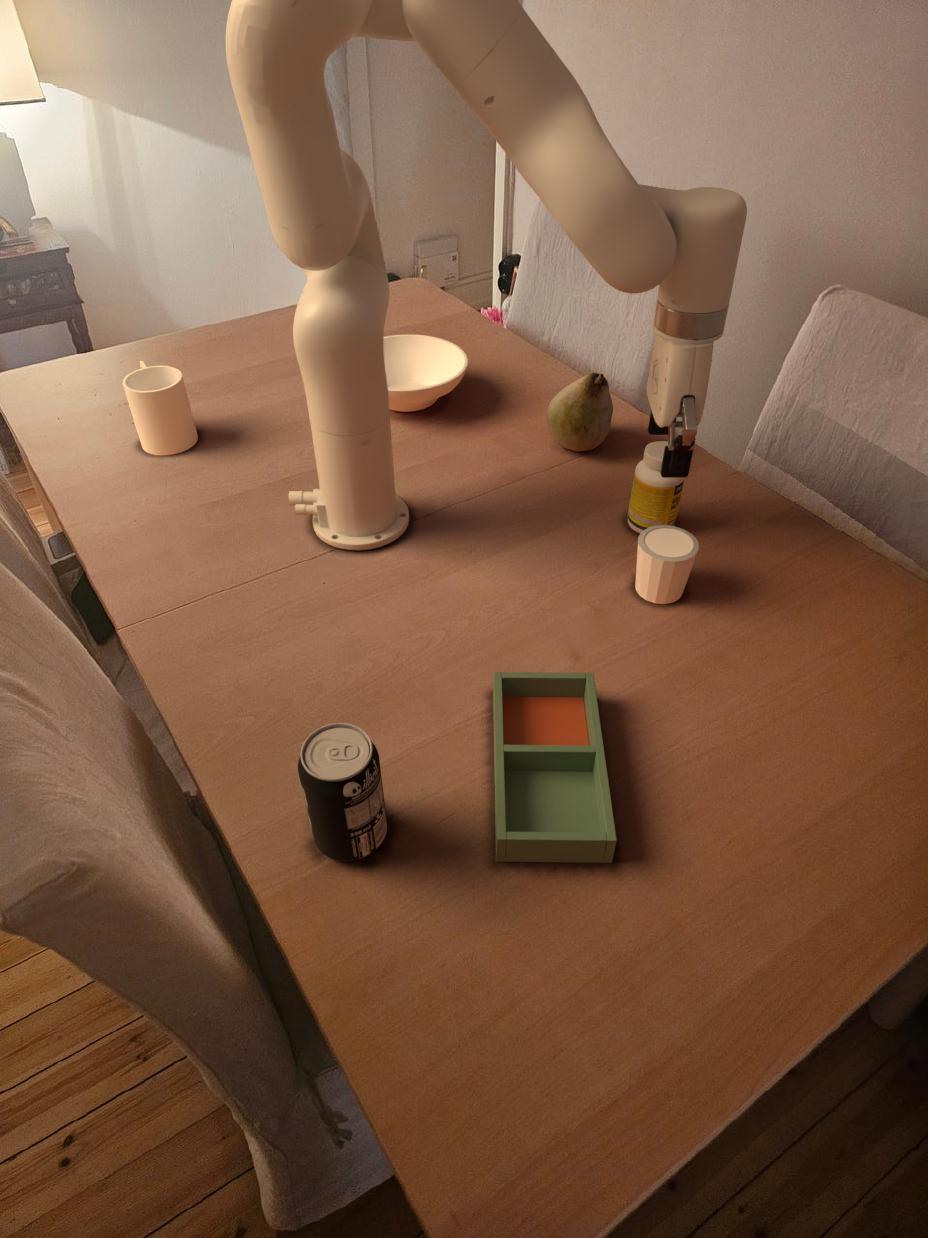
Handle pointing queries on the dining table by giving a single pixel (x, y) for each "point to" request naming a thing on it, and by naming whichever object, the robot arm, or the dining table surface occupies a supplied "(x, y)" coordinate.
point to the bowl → (421, 370)
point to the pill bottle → (653, 492)
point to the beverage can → (343, 791)
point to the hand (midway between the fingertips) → (667, 454)
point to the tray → (550, 770)
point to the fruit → (581, 413)
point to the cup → (160, 409)
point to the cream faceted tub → (664, 563)
